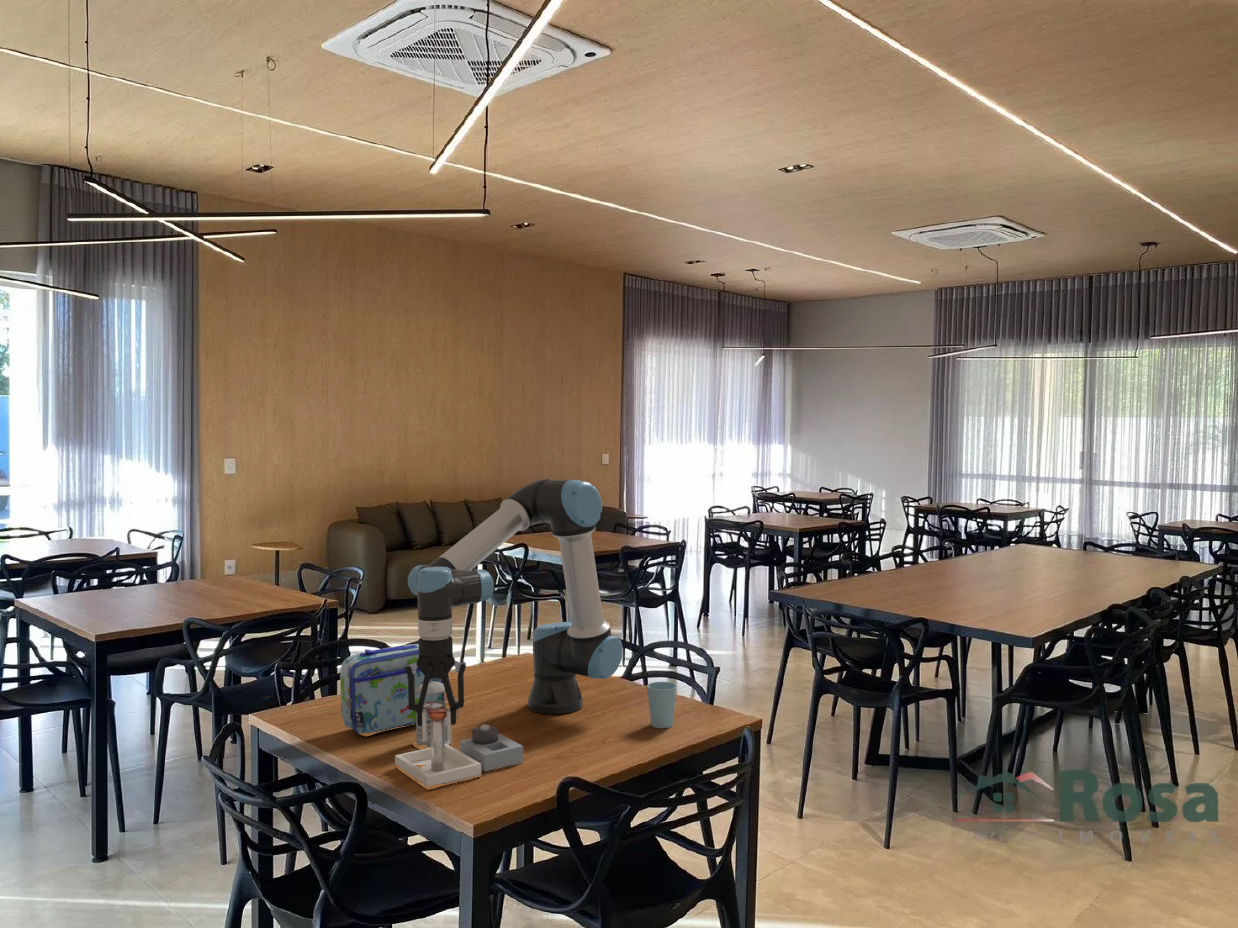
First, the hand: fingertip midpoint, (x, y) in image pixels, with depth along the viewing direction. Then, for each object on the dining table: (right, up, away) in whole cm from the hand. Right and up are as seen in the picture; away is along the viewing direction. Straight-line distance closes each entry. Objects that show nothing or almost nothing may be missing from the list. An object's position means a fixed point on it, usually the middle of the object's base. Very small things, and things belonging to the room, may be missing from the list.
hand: (437, 738), depth 217 cm
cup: (+52, -6, +33) cm, 62 cm away
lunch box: (-18, -7, +34) cm, 39 cm away
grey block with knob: (+11, -7, +8) cm, 16 cm away
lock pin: (0, -7, 0) cm, 7 cm away
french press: (-4, -7, +20) cm, 22 cm away
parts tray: (0, -8, 0) cm, 8 cm away
